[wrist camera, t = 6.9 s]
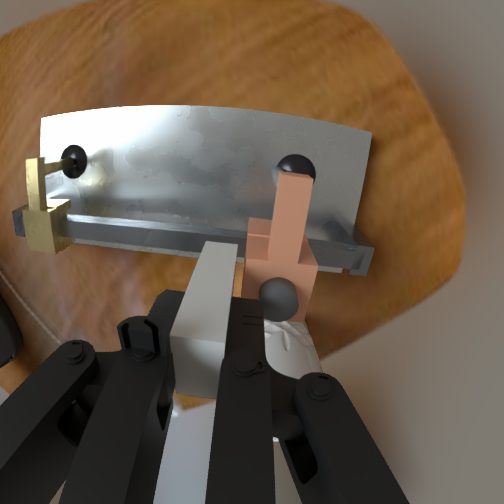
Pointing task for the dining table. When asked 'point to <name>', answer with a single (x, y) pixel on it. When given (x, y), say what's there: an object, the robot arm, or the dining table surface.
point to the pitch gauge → (191, 181)
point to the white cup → (290, 349)
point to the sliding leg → (281, 252)
